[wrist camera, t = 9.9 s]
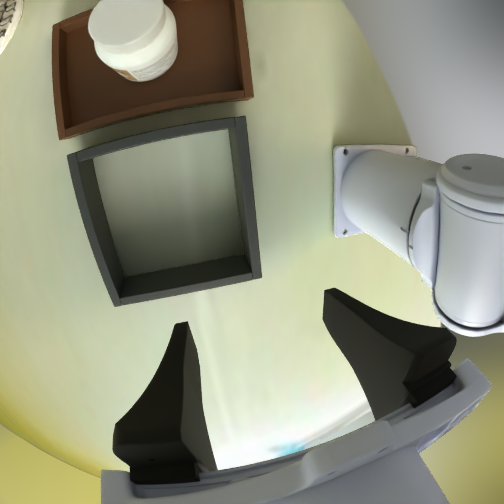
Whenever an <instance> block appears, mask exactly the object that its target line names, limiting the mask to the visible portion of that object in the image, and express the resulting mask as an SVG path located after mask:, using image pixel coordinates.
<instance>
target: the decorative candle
mask: <svg viewBox="0 0 504 504" xmlns="http://www.w3.org/2000/svg"><path fill="white" fill-rule="evenodd" d="M23 5H24V2H23V0H0V54H1V52H2V51H3V50H4V49H5V47H6V45H7V44H8V42H9V41H10V39H11V38H12V36H13V35H14V33H15V31H16V28H17V26H18V24H19V21H20V19H21V17H22V11H23Z"/></svg>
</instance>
